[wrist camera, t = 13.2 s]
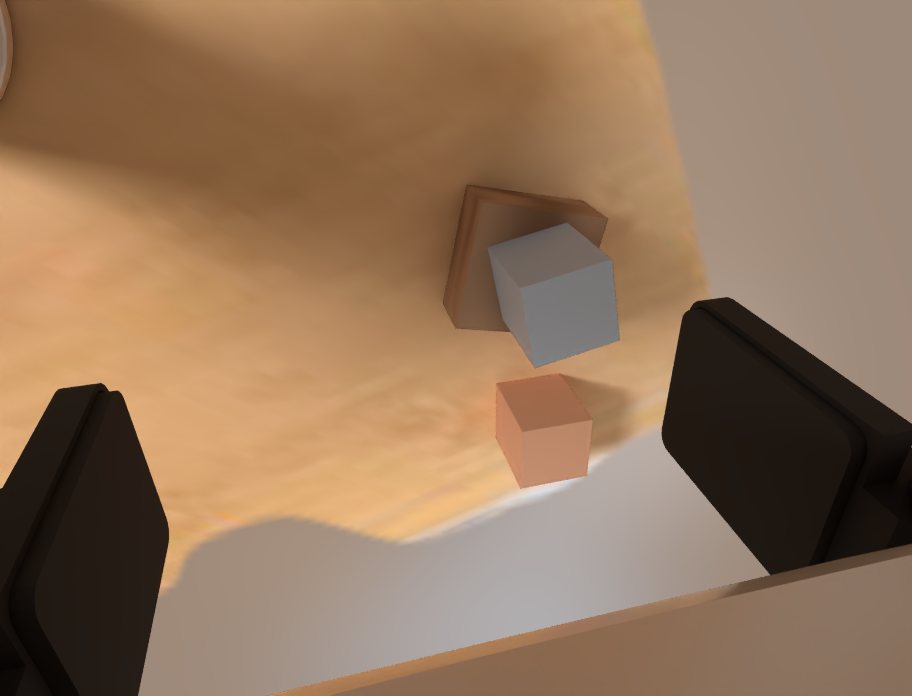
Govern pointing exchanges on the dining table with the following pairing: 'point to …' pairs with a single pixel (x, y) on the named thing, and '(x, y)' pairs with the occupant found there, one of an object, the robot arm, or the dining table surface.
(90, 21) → the dining table surface
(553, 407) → the terracotta block
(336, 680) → the robot arm
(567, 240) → the slate block
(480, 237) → the walnut base
